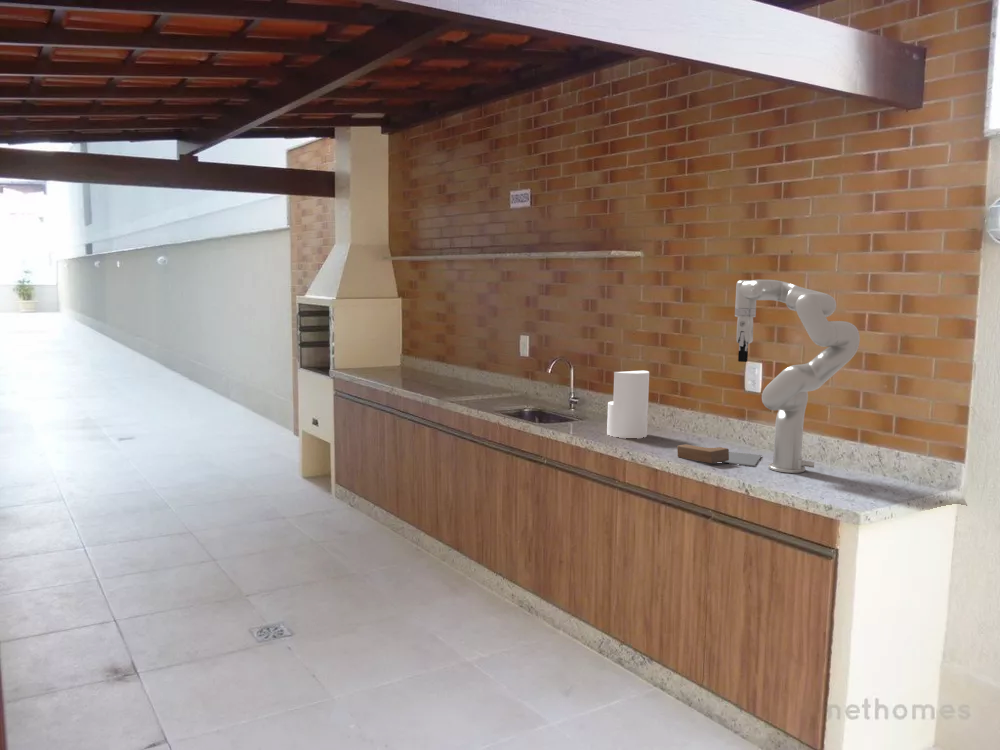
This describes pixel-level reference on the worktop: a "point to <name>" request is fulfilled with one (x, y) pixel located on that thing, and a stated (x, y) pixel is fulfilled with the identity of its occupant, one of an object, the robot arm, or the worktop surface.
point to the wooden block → (703, 453)
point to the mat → (743, 459)
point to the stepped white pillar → (629, 405)
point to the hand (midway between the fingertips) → (742, 361)
